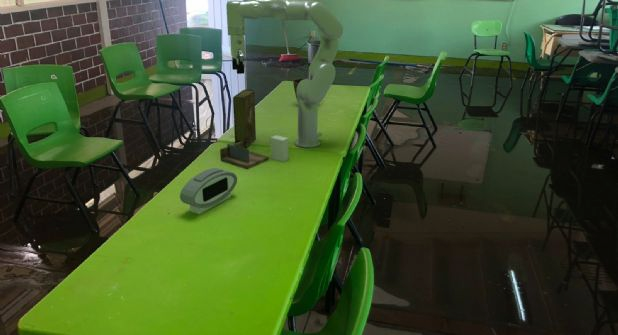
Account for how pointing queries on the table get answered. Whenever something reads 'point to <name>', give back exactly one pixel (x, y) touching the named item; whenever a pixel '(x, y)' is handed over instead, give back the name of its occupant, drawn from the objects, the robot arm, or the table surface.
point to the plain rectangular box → (279, 148)
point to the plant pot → (297, 85)
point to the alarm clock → (208, 189)
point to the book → (244, 117)
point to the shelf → (241, 156)
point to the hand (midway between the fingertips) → (238, 71)
